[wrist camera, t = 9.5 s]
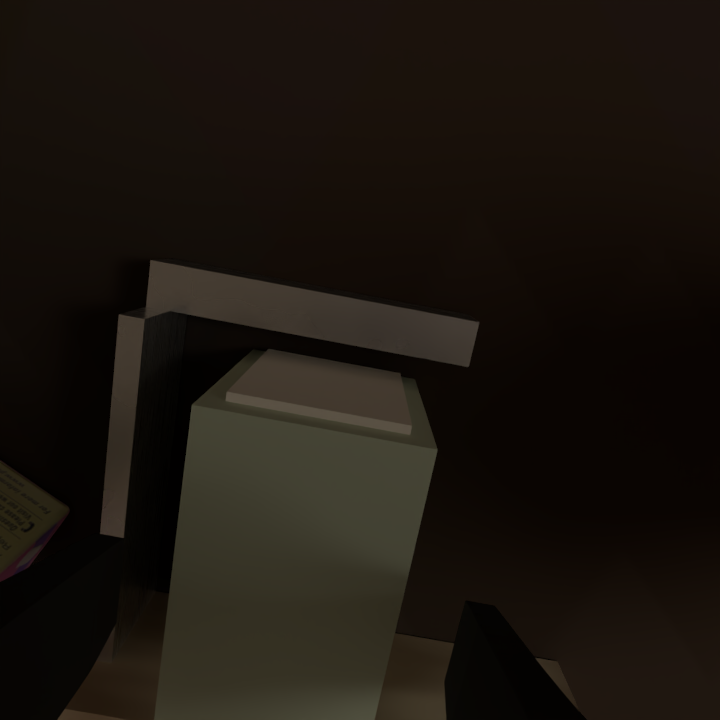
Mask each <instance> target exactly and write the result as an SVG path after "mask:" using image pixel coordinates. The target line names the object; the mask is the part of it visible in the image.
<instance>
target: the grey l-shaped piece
mask: <svg viewBox="0 0 720 720" xmlns="http://www.w3.org/2000/svg"><path fill="white" fill-rule="evenodd" d="M187 315H193V316H199V317H204V318H209V319H215V320H220V321H225V322H231V323H236V324H241V325H247V326H252V327H257V328H263V329H268V330H273V331H279V332H284V333H289V334H295V335H300V336H305V337H311V338H316V339H321V340H327V341H332V342H338V343H343V344H348V345H354V346H359V347H364V348H370V349H375V350H380V351H386V352H391V353H396V354H402V355H407V356H412V357H418V358H423V359H428V360H434V361H439V362H444V363H450V364H455V365H460V366H466V367H469V364H470V359H471V355H472V351H473V347H474V343H475V339H476V334H477V330H478V326H479V322H478V321H477V320H475V319H474V318H473V317H471V316H470V315H468V314H463V313H458V312H453V311H447V310H442V309H437V308H431V307H426V306H421V305H416V304H410V303H405V302H400V301H395V300H389V299H384V298H379V297H373V296H368V295H363V294H358V293H352V292H347V291H342V290H336V289H331V288H326V287H321V286H315V285H310V284H305V283H300V282H294V281H289V280H284V279H278V278H273V277H268V276H263V275H257V274H252V273H247V272H242V271H236V270H231V269H226V268H220V267H215V266H210V265H205V264H199V263H194V262H189V261H183V260H178V259H173V258H171V259H158V260H151V261H150V271H149V282H148V292H147V302H146V307H143V308H140V309H136V310H132V311H129V312H125V313H122V314H119V319H118V330H117V342H116V354H115V365H114V377H113V388H112V400H111V412H110V423H109V435H108V447H107V458H106V470H105V481H104V493H103V505H102V516H101V528H100V534H104V535H110V536H115V537H121V538H125V541H124V551H123V561H122V572H121V582H120V592H119V603H118V613H117V623H116V625H115V627H114V628H113V630H112V632H111V634H110V636H109V638H108V640H107V642H106V644H105V646H104V648H103V650H102V651H101V653H100V655H99V657H98V659H97V660H96V661H101V662H107V663H112V661H113V660H114V658H115V656H116V655H117V653H118V652H119V650H120V648H121V647H122V645H123V643H124V642H125V640H126V639H127V637H128V635H129V634H130V632H131V630H132V629H133V627H134V626H135V624H136V622H137V621H138V619H139V617H140V616H141V614H142V613H143V611H144V609H145V608H146V606H147V605H148V603H149V601H150V600H151V598H152V596H153V595H154V593H155V592H156V585H157V576H158V567H159V559H160V550H161V541H162V532H163V524H164V515H165V506H166V498H167V489H168V480H169V472H170V463H171V454H172V446H173V437H174V428H175V420H176V411H177V402H178V393H179V385H180V376H181V367H182V359H183V350H184V341H185V333H186V324H187Z"/></svg>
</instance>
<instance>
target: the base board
mask: <svg viewBox="0 0 720 720" xmlns="http://www.w3.org/2000/svg"><path fill="white" fill-rule="evenodd" d="M168 599H169V593H164V592H158V591H156V592H155V593H154V595H153V596H152V598H151V600H150V601H149V603H148V605H147V606H146V608H145V609H144V611H143V613H142V614H141V616H140V617H139V619H138V621H137V622H136V624H135V626H134V627H133V629H132V630H131V632H130V634H129V635H128V637H127V639H126V640H125V642H124V643H123V645H122V647H121V648H120V650H119V652H118V653H117V655H116V656H115V658H114V660H113V661H112V663H107V662H101V661H96V662H95V664H94V666H93V668H92V669H91V671H90V673H89V674H88V676H87V677H86V679H85V680H84V682H83V683H82V685H81V686H80V688H79V689H78V690H77V692H76V693H75V695H74V696H73V698H72V699H71V701H70V702H69V704H68V705H67V707H66V708H65V709H64V711H63V712H62V714H61V715H60V717H59V718H58V720H154V716H155V707H156V699H157V691H158V682H159V674H160V666H161V657H162V649H163V641H164V632H165V624H166V616H167V608H168ZM453 646H454V643H449V642H443V641H437V640H432V639H426V638H420V637H415V636H409V635H403V634H397V633H395V634H394V639H393V643H392V647H391V652H390V656H389V660H388V664H387V669H386V673H385V677H384V682H383V686H382V690H381V694H380V699H379V703H378V707H377V712H376V716H375V720H446V706H445V689H444V680H445V676H446V673H447V669H448V665H449V661H450V658H451V654H452V650H453ZM536 660H537V661H538V662H539V664H540V665H541V666H542V667H543V669H544V670H545V671H546V672H547V674H548V675H549V676H550V677H551V678H552V680H553V681H554V682H555V683H556V685H557V686H558V687H559V688H560V689H561V691H562V692H563V693H564V694H565V695H566V697H567V698H568V699H569V700H570V701H571V702H572V704H573V705H574V706H575V707H576V708H577V709H578V707H577V705H576V702H575V700H574V698H573V696H572V693H571V691H570V689H569V687H568V684H567V682H566V680H565V678H564V675H563V673H562V671H561V669H560V667H559V664H558V662H557V661H551V660H546V659H540V658H536ZM578 711H579V709H578ZM579 712H580V711H579Z"/></svg>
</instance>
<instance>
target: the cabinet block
mask: <svg viewBox="0 0 720 720" xmlns="http://www.w3.org/2000/svg"><path fill="white" fill-rule="evenodd" d="M437 450H438V449H437V446H436V443H435V440H434V437H433V434H432V431H431V428H430V425H429V421H428V418H427V415H426V412H425V409H424V406H423V403H422V400H421V397H420V393H419V390H418V387H417V384H416V381H415V379H412V378H406V377H401V374H400V373H397V372H391V371H386V370H381V369H375V368H370V367H365V366H359V365H354V364H348V363H343V362H338V361H332V360H327V359H321V358H316V357H311V356H305V355H300V354H295V353H289V352H284V351H278V350H273V349H268V350H267V351H261V350H255V349H253V350H252V351H251V352H250V353H249V354H248V355H246V356H245V357H244V358H243V359H242V360H241V361H240V362H239V363H238V364H236V365H235V366H234V367H233V368H232V369H231V370H230V371H229V372H228V373H227V374H225V375H224V376H223V377H222V378H221V379H220V380H219V381H218V382H217V383H215V384H214V385H213V386H212V387H211V388H210V389H209V390H208V391H207V392H205V393H204V394H203V395H202V396H201V397H200V398H199V399H198V400H197V401H195V402H194V403H193V404H192V408H191V416H190V425H189V433H188V441H187V450H186V458H185V466H184V474H183V483H182V491H181V499H180V508H179V516H178V524H177V533H176V541H175V549H174V558H173V566H172V574H171V583H170V591H169V599H168V608H167V616H166V624H165V632H164V641H163V649H162V657H161V666H160V674H159V682H158V691H157V699H156V707H155V716H154V720H375V716H376V712H377V707H378V703H379V699H380V694H381V690H382V686H383V682H384V677H385V673H386V669H387V664H388V660H389V656H390V652H391V647H392V643H393V639H394V634H395V630H396V626H397V622H398V617H399V613H400V609H401V604H402V600H403V596H404V592H405V587H406V583H407V579H408V574H409V570H410V566H411V562H412V557H413V553H414V549H415V544H416V540H417V536H418V532H419V527H420V523H421V519H422V514H423V510H424V506H425V502H426V497H427V493H428V489H429V484H430V480H431V476H432V472H433V467H434V463H435V459H436V454H437Z"/></svg>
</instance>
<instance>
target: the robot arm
mask: <svg viewBox="0 0 720 720" xmlns="http://www.w3.org/2000/svg"><path fill="white" fill-rule="evenodd" d="M124 541H125V538H121V537H115V536H110V535H104V534H99V533H95V534H92V535H90V536H88V537H86V538H84V539H82V540H80V541H78V542H76V543H74V544H72V545H70V546H68V547H67V548H65V549H63V550H61V551H59V552H57V553H55V554H53V555H51V556H49V557H48V558H46V559H44V560H42V561H40V562H38V563H36V564H34V565H32V566H30V567H28V568H26V569H24V570H22V571H21V572H19V573H17V574H15V575H13V576H11V577H9V578H7V579H5V580H3V581H1V582H0V720H58V718H59V717H60V715H61V714H62V712H63V711H64V709H65V708H66V707H67V705H68V704H69V702H70V701H71V699H72V698H73V696H74V695H75V693H76V692H77V690H78V689H79V688H80V686H81V685H82V683H83V682H84V680H85V679H86V677H87V676H88V674H89V673H90V671H91V669H92V668H93V666H94V664H95V662H96V660H97V659H98V657H99V655H100V653H101V651H102V650H103V648H104V646H105V644H106V642H107V640H108V638H109V636H110V634H111V632H112V630H113V628H114V627H115V625H116V623H117V613H118V603H119V592H120V582H121V572H122V561H123V551H124ZM444 689H445V706H446V720H587V719H586V718H585V717H584V716H583V715H582V714H581V713H580V712H579V711H578V709H577V708H576V707H575V706H574V705H573V704H572V702H571V701H570V700H569V699H568V698H567V697H566V695H565V694H564V693H563V692H562V691H561V689H560V688H559V687H558V686H557V685H556V683H555V682H554V681H553V680H552V678H551V677H550V676H549V675H548V674H547V672H546V671H545V670H544V669H543V667H542V666H541V665H540V664H539V662H538V661H537V660H536V658H535V657H534V656H533V655H532V653H531V652H530V651H529V649H528V648H527V647H526V646H525V644H524V643H523V642H522V640H521V639H520V638H519V637H518V635H517V634H516V633H515V631H514V630H513V629H512V627H511V626H510V625H509V623H508V622H507V621H506V620H505V618H504V617H503V616H502V615H501V613H500V612H499V611H498V610H497V608H496V607H495V606H493V605H487V604H482V603H476V602H471V601H465V605H464V609H463V613H462V616H461V620H460V624H459V628H458V631H457V635H456V639H455V643H454V646H453V650H452V654H451V658H450V661H449V665H448V669H447V673H446V676H445V680H444Z"/></svg>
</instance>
